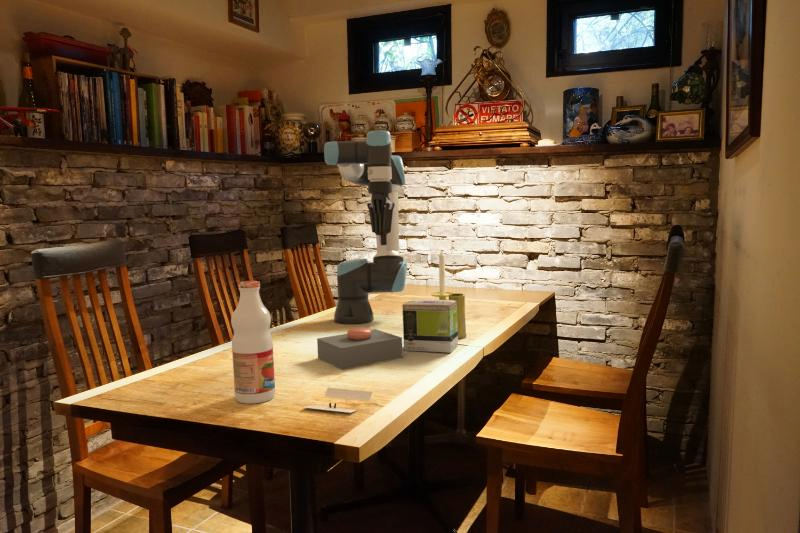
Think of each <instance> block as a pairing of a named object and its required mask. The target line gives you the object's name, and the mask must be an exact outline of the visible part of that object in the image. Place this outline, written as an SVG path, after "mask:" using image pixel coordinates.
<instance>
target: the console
mask: <svg viewBox="0 0 800 533" xmlns="http://www.w3.org/2000/svg"><path fill="white" fill-rule="evenodd" d="M316 342H317V359H318V360H321V361H323V362H326V364H329V365H331V366H333V367H336V368H338V369H340V370H342V371H343V370H348V369H352V368H357V367H362V366H369V365H371V364H372V365H373V364H377V363H381V362H387V361H392V360H396V359H397V360H398V359H402V358H403V337H401V336H398V335H395V334H391V333H389V332H386V331H384V330H379V329H376V328H373V329H371V337H370V338H367V339H364V340H358V341H355V340H354V339H349V338H347V333H343V334H337V335H331V336H324V337H319V338H316Z"/></svg>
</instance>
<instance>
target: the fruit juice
mask: <svg viewBox="0 0 800 533" xmlns="http://www.w3.org/2000/svg"><path fill="white" fill-rule="evenodd" d="M237 286H238V290H239V294H240V295H239V299H238V305H237V306H236V308H235V310H234V311H233V313H232V314H231V319H230V323H231V326H232V330H233V335H232V339H231V352H232V353H231V354H232V370H233V372H232V373H233V387H234V397H235V401H236V402H238V403H240V404H248V405H254V404H261V403H265V402H268V401H270V400H272V399H274V397H275V395H276V385H275V384H276V383H275V382H276V381H275V380H276V379H275V362H274V359H275V358H274V344H273V343H274V342H273V336H272V334H271V331H270V327H271V322H272V319H271V317H272V316H271V313H270V311H269V310H268V309H267V307H266V306H265V305H264V303H263V301H262V299H261V296H260V295H261V294H260V289H261V283H260V281H258V280H246V281H240V282H238V285H237Z"/></svg>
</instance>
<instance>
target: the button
mask: <svg viewBox="0 0 800 533" xmlns="http://www.w3.org/2000/svg"><path fill="white" fill-rule="evenodd" d="M371 330H372V329H371V328H370V327H369V328H368V327H352V328H348V329H347V330H346V334H347V338H349V339H354V340H355V341H358V340H364V339H367V338H370V337H371Z"/></svg>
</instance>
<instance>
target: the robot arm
mask: <svg viewBox="0 0 800 533" xmlns="http://www.w3.org/2000/svg"><path fill="white" fill-rule="evenodd" d="M391 143H392V139H391V133H390V131H388V130H379V129H378V130H371V131H368V132H367V133H366V140H349V141H348V140H344V141H343V140H342V141H341V140H340V141H339V140H338V141H336V140H334V141H326V142H325V144H324V147H323V148H324V149H323V150H324V151H323V152H324V153H323V154H324V156H323V157H324V162H325V164H326V165H328V166H329V165H330V166H331V165H332V166H337V167H338V171H339V174H340V176H341V177H342V178H343V179H345V181H348V182H349V183H351V184H354V185H358V186H364V187H365V186H366V187H367V192H368V194H371V199H370V200H371V201H370V202H367V204H366V206H367V209H368V214H369V215H368V216H369V221H370V227H371V232H372V233H374V234H375V236H376V254H375V255H374V256H373V258H372V259H373V260H372V262H369V260H368V259H367V258H356V259H355V258H354V259H351V260H345V261H341V262H340V263H338V264H337V266H336V267H337V268H336V280H337V281H336V282H337V303H336V308H335V310H334V311H335V312H334V314H333V320H334V323H337V324H345V325H346V324H347V325H349V324H350V325H354V324H355V325H356V324H365V323H366V324H367V323H371V322H372V321H373V320H374V318H375V317H374V312H373V309H372V306H371V304H370V301H369V294H377V293H378V294H379V293H392V294H393V293H401V292H403V291H404V290H405V287H406V278H407V269H408V262H407V261H406V260H404V256H403V255H402V254H401V253H400V230H399V229H400V224H399V193H400V192H401V191H402V189H403V186H406V178H405V177H406V176H405V170H404V168H405V167H404V164H403V158H402V157H401V156H400V155H398V154H397V155H393V149H392V146H391V145H392V144H391Z"/></svg>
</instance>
